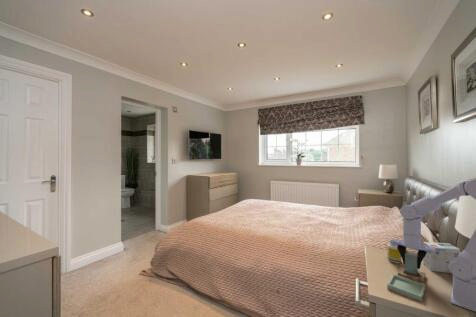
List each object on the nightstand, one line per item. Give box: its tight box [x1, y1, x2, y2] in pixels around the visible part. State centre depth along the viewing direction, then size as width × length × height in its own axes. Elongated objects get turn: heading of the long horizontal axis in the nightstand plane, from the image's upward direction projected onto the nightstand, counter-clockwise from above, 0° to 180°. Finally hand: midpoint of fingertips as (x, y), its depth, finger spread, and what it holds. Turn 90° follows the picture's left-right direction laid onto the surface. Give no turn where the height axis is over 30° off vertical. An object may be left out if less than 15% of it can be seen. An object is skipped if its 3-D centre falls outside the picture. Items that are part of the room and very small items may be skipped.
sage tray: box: [386, 273, 426, 303], centre depth 82 cm, size 10×10×2 cm
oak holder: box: [397, 265, 426, 284], centre depth 90 cm, size 8×8×2 cm
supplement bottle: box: [386, 238, 402, 264], centre depth 103 cm, size 5×5×10 cm
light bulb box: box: [422, 241, 461, 274], centre depth 96 cm, size 11×7×11 cm, turn 77°
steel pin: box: [404, 250, 420, 277], centre depth 90 cm, size 4×4×8 cm
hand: (411, 265), depth 90 cm, fingers closed on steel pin, 4 cm apart
